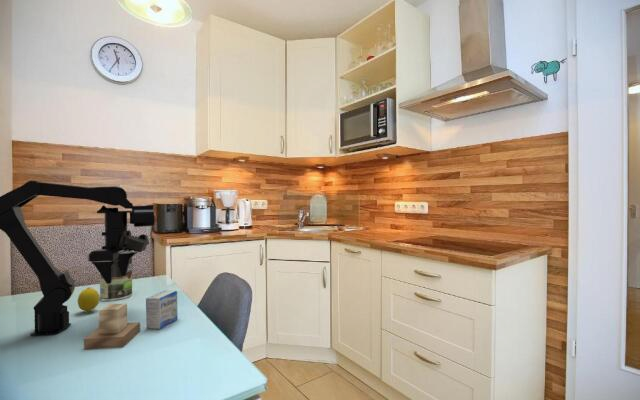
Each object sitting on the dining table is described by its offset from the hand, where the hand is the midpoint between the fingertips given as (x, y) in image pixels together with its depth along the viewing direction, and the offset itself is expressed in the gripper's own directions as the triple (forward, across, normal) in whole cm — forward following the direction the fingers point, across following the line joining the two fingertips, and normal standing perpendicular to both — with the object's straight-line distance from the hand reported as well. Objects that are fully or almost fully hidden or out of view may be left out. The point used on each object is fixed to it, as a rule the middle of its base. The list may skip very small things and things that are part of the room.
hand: (116, 279), depth 94 cm
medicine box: (+12, -6, -15) cm, 20 cm away
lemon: (+12, +8, +12) cm, 19 cm away
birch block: (+10, -15, -6) cm, 19 cm away
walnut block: (+13, -15, -6) cm, 20 cm away
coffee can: (+12, +24, +11) cm, 29 cm away
